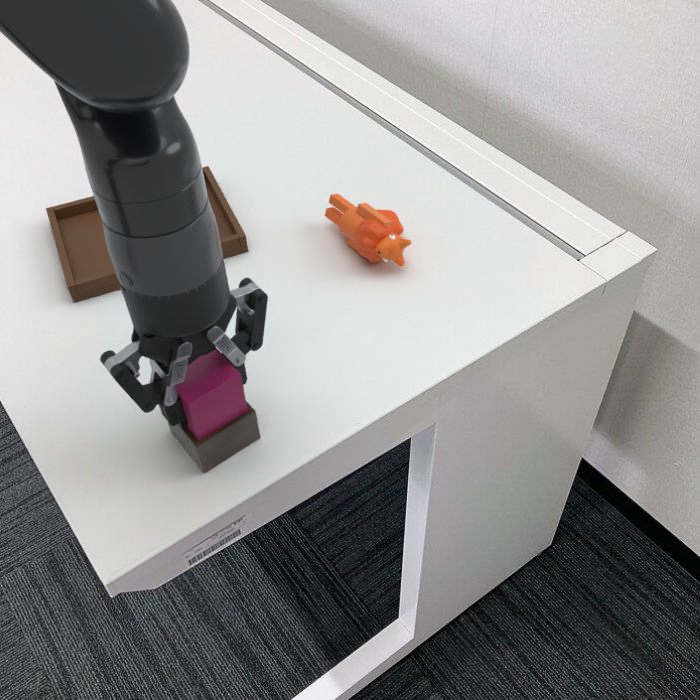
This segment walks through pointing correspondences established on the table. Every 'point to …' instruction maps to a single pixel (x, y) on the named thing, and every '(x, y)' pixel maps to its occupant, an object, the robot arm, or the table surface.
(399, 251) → the orange toy animal
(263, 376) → the table surface
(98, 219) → the tray
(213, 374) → the mulberry block
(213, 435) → the dark brown block
